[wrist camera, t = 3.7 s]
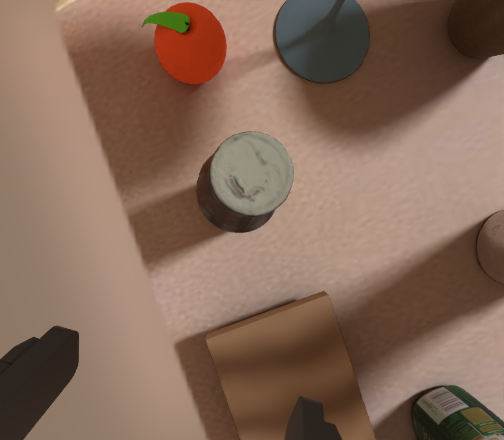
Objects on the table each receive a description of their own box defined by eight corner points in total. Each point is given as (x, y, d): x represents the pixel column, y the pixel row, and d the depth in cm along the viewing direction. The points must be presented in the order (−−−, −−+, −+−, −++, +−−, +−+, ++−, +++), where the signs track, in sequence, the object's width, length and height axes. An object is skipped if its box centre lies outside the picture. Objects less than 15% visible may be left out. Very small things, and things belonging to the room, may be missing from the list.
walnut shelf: (207, 325, 34) (205, 339, 30) (316, 285, 35) (328, 294, 31) (264, 488, 35) (270, 524, 31) (369, 445, 36) (387, 475, 32)
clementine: (146, 84, 33) (124, 47, 26) (160, 21, 33) (142, -33, 26) (219, 102, 33) (217, 71, 26) (232, 40, 34) (234, -6, 26)
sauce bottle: (207, 231, 34) (180, 254, 14) (199, 175, 33) (159, 116, 14) (265, 222, 34) (320, 232, 14) (257, 167, 34) (301, 100, 14)
